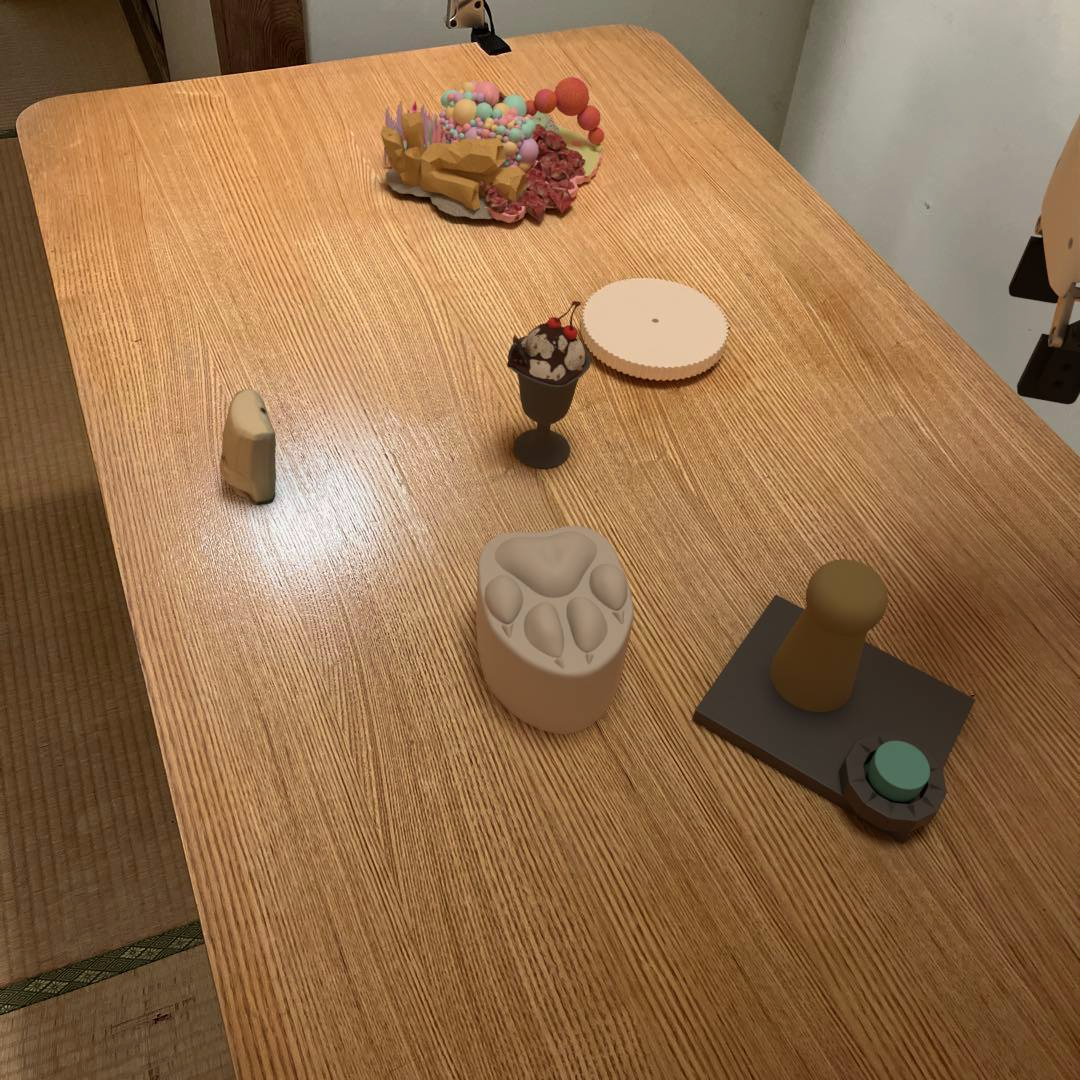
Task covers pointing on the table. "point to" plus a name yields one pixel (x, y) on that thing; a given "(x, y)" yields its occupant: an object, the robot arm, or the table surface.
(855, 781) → the scale
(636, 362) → the plastic lid
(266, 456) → the tan tall rounded block
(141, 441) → the table surface
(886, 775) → the scale button
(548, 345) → the sundae
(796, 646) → the brown game pawn
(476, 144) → the candy landscape model
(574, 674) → the lumpy-topped squat cylinder
